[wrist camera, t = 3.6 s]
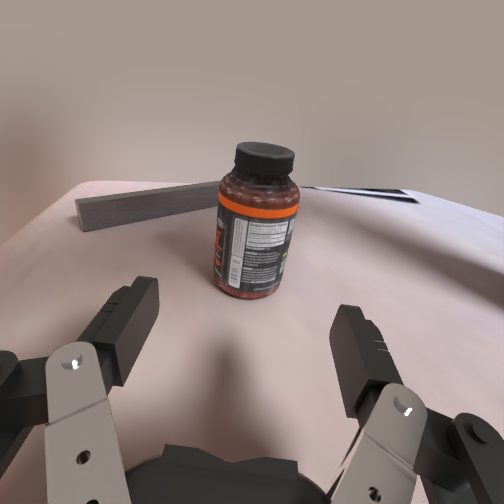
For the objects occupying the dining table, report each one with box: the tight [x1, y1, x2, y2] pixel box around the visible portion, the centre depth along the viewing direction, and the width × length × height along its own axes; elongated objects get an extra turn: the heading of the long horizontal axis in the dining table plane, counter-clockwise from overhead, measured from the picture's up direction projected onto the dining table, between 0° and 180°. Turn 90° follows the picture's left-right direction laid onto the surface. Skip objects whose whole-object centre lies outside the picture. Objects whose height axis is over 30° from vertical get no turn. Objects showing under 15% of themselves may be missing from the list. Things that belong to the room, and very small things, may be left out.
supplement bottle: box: [214, 142, 300, 299], centre depth 22 cm, size 6×6×11 cm
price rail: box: [75, 181, 221, 232], centre depth 34 cm, size 20×2×3 cm, turn 131°
